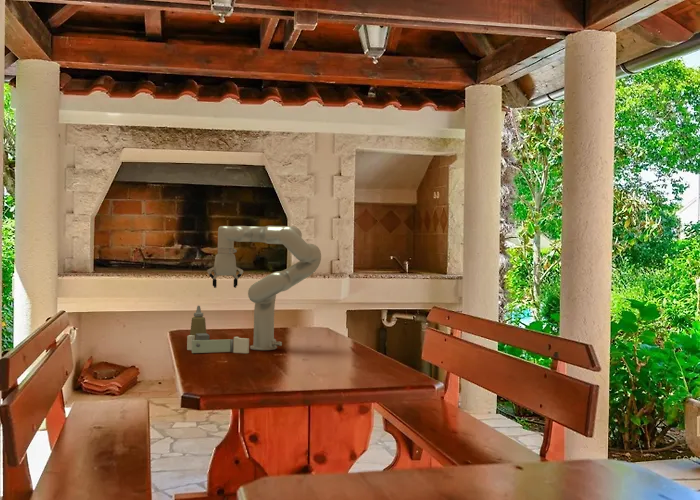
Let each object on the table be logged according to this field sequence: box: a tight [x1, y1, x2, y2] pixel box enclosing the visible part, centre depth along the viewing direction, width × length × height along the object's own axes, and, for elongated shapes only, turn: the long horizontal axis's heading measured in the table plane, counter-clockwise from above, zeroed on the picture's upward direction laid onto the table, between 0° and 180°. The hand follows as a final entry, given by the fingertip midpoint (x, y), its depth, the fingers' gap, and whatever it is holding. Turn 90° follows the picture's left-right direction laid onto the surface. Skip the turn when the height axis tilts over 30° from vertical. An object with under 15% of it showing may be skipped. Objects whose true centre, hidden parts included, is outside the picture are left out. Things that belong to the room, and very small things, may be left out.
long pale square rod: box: [191, 338, 234, 354], centre depth 342 cm, size 19×2×6 cm, turn 111°
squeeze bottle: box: [189, 305, 207, 340], centre depth 376 cm, size 8×8×18 cm
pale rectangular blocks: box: [186, 334, 250, 354], centre depth 347 cm, size 30×3×7 cm, turn 77°
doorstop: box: [196, 332, 211, 340], centre depth 345 cm, size 5×7×8 cm
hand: (225, 287), depth 362 cm, fingers open, 9 cm apart
